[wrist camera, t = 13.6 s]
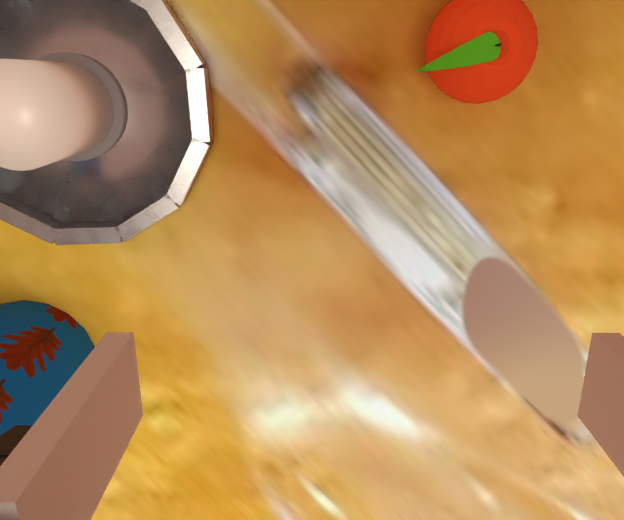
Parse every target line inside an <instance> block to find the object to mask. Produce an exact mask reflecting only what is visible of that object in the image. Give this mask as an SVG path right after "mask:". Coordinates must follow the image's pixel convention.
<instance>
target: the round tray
mask: <svg viewBox="0 0 624 520" xmlns="http://www.w3.org/2000/svg"><path fill="white" fill-rule="evenodd" d="M58 52H68V53H77V54H82V55H85V56H89V57H91V58H93V59H95V60H97V61H98V62H100V63H102V64H103V65H104V66H105V67H107V68H108V69H109V70H110V71H111V72H112V73H113V74H114V76H115V77H116V78H117V80H118V81H119V83H120V85H121V87H122V89H123V91H124V94H125V97H126V100H127V106H128V120H127V125H126V128H125V131H124V133H123V135H122V137H121V139H120V140H119V142H118V143H117V144H116V145H115V146H114V147H113V148H112V149H111V150H109V151H108V152H106V153H104V154H102V155H100V156H97V157H95V158H92V159H89V160H85V161H69V160H64V159H62V160H59V161H56V162H54V163H51V164H48V165H45V166H42V167H39V168H36V169H32V170H26V171H16V170H10V169H6V168H2V167H0V220H3V221H5V222H7V223H9V224H11V225H13V226H15V227H17V228H19V229H21V230H24V231H26V232H28V233H30V234H32V235H34V236H36V237H38V238H40V239H42V240H45V241H47V242H49V243H51V244H52V243H54V242H55V244H56V245H64V244H100V243H122V242H123V241H124V242H125V241H127V240H128V239H130V238H132V237H133V236H135V235H136V234H138V233H139V232H141V231H143V230H144V229H146V228H147V227H149V226H151V225H152V224H154V223H155V222H157V221H159V220H160V219H162V218H163V217H165V216H166V215H168V214H170V213H171V212H173V211H174V210H176V209H178V208H179V207H180V206H181V205H182V204H183V202H184V201H185V200H186V198H187V196H188V194H189V192H190V190H191V187H192V185H193V183H194V181H195V180H196V178H197V176H198V174H199V173H200V171H201V169H202V166H203V164H204V161H205V159H206V156H207V154H208V152H209V150H210V148H211V146H212V144H213V143H212V142H210V141H211V140H213V127H212V124H213V104H212V97H211V90H210V84H209V78H208V68H205V67H204V66H205V65H206V63H205V61H204V60H203V58H202V57H201V55H200V54H199V52H198V50H197V48H196V46H195V44H194V42H193V41H192V39H191V37H190V35H189V33H188V32H187V31H186V29H185V28H184V26H183V25H182V24H181V22H180V21H179V20H178V18H177V17H176V16H175V14H174V13H173V11H172V10H171V8H170V6H169V5H168V3H167V2H166V0H0V59H20V60H37V59H39V58H40V57H42V56H45V55H47V54H51V53H58Z"/></svg>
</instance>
